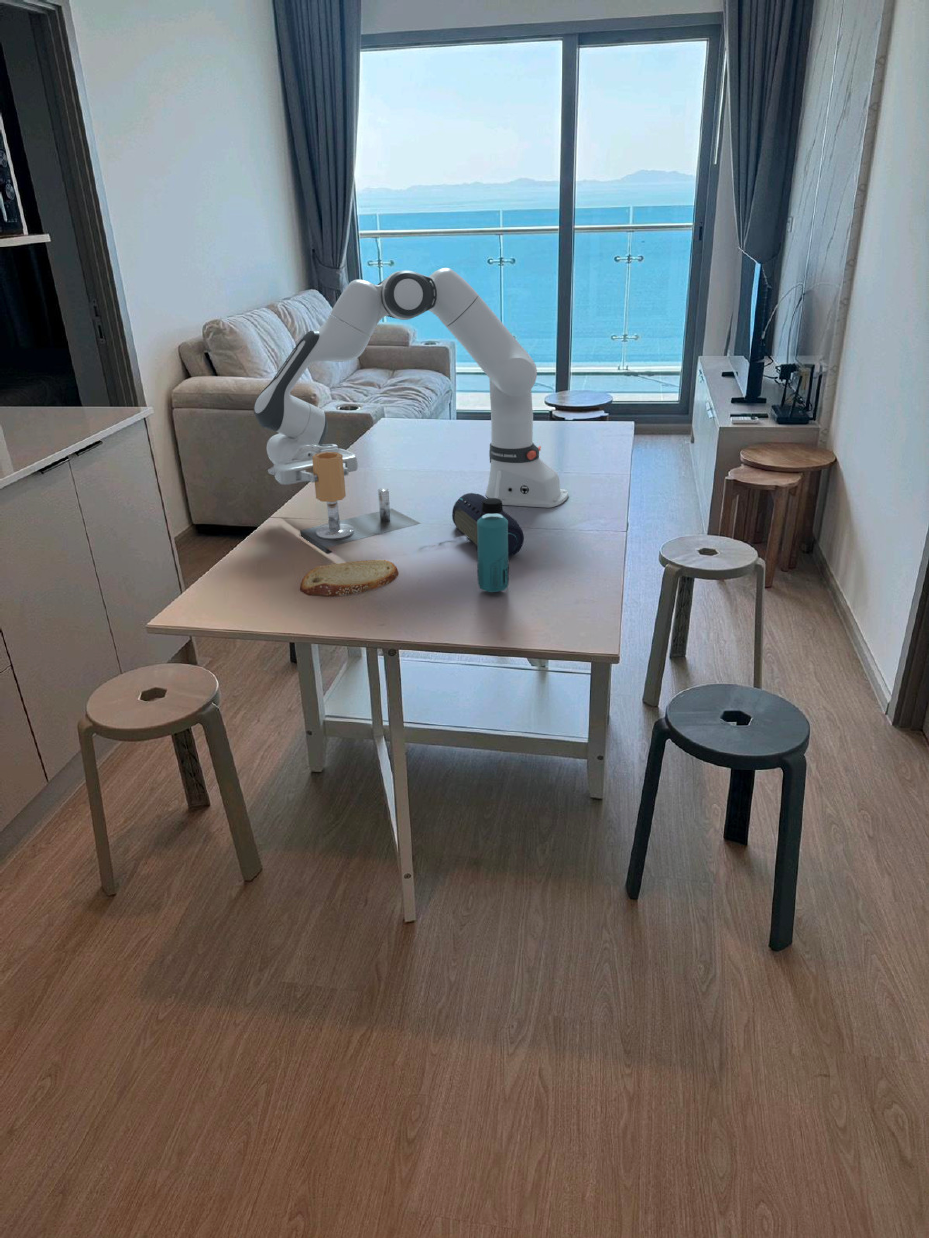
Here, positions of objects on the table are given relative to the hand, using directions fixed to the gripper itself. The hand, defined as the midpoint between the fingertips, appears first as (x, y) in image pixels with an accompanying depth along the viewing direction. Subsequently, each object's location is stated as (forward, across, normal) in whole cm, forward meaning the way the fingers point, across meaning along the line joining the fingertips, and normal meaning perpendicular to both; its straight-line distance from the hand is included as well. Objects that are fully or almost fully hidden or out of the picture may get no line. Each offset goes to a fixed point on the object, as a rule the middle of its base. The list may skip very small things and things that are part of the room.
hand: (330, 475), depth 193 cm
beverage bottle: (+46, +12, +16) cm, 51 cm away
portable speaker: (+24, +27, +16) cm, 40 cm away
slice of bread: (+23, -9, +17) cm, 30 cm away
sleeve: (-1, 0, +6) cm, 6 cm away
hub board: (-1, +7, +16) cm, 18 cm away
